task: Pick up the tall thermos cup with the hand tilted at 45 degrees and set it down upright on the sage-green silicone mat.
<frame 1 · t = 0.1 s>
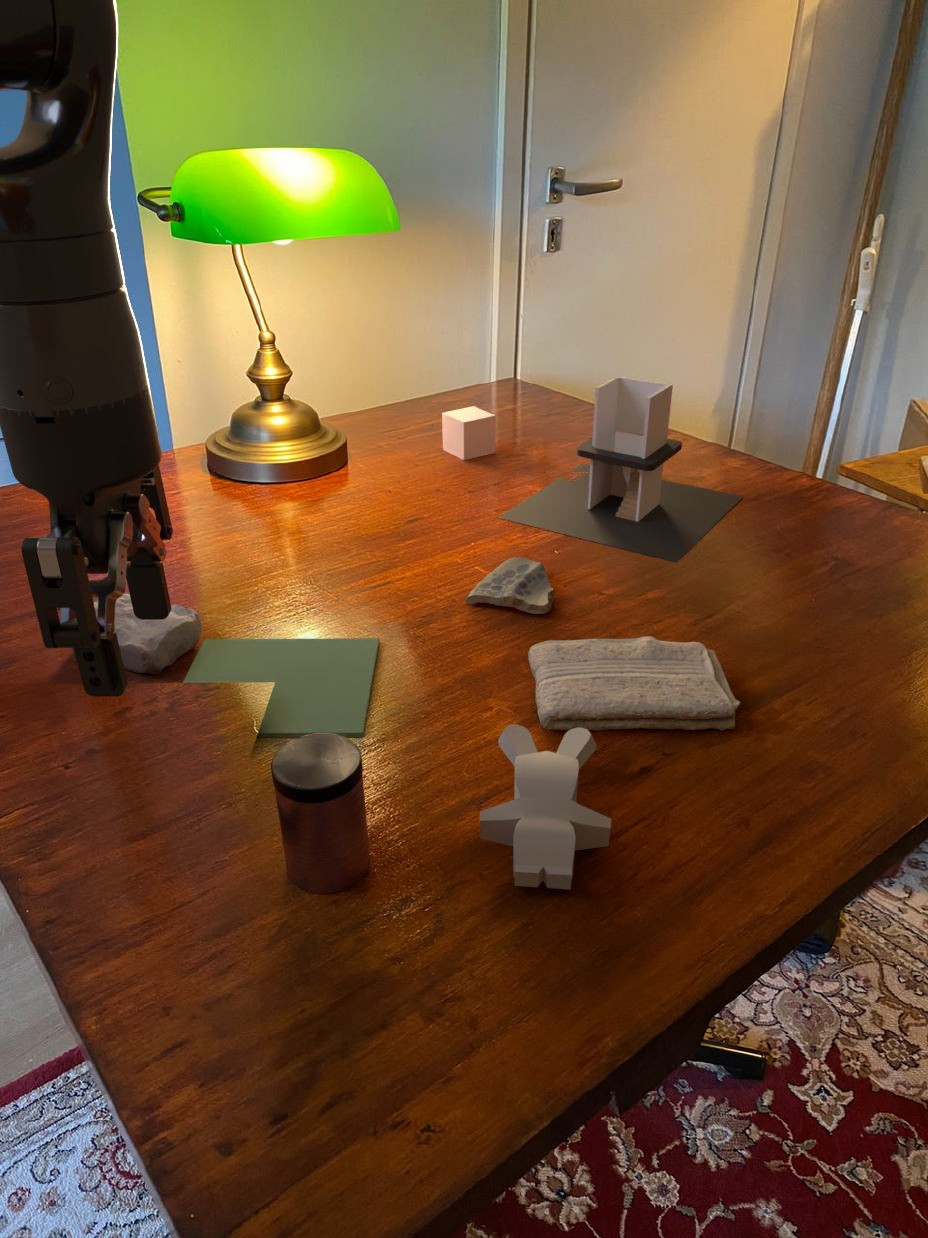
hand: (132, 652, 54), 20 cm above the table, tool pointing down, fingers open, 8 cm apart
ceramic fragment: (521, 596, 102), on the table
stone block: (143, 645, 93), on the table
washcloth: (628, 698, 84), on the table
thermos cup: (328, 863, 66), on the table
mat: (277, 686, 86), on the table
white cube: (468, 452, 143), on the table
bunny figurine: (544, 826, 70), on the table
box stand: (623, 508, 123), on the table
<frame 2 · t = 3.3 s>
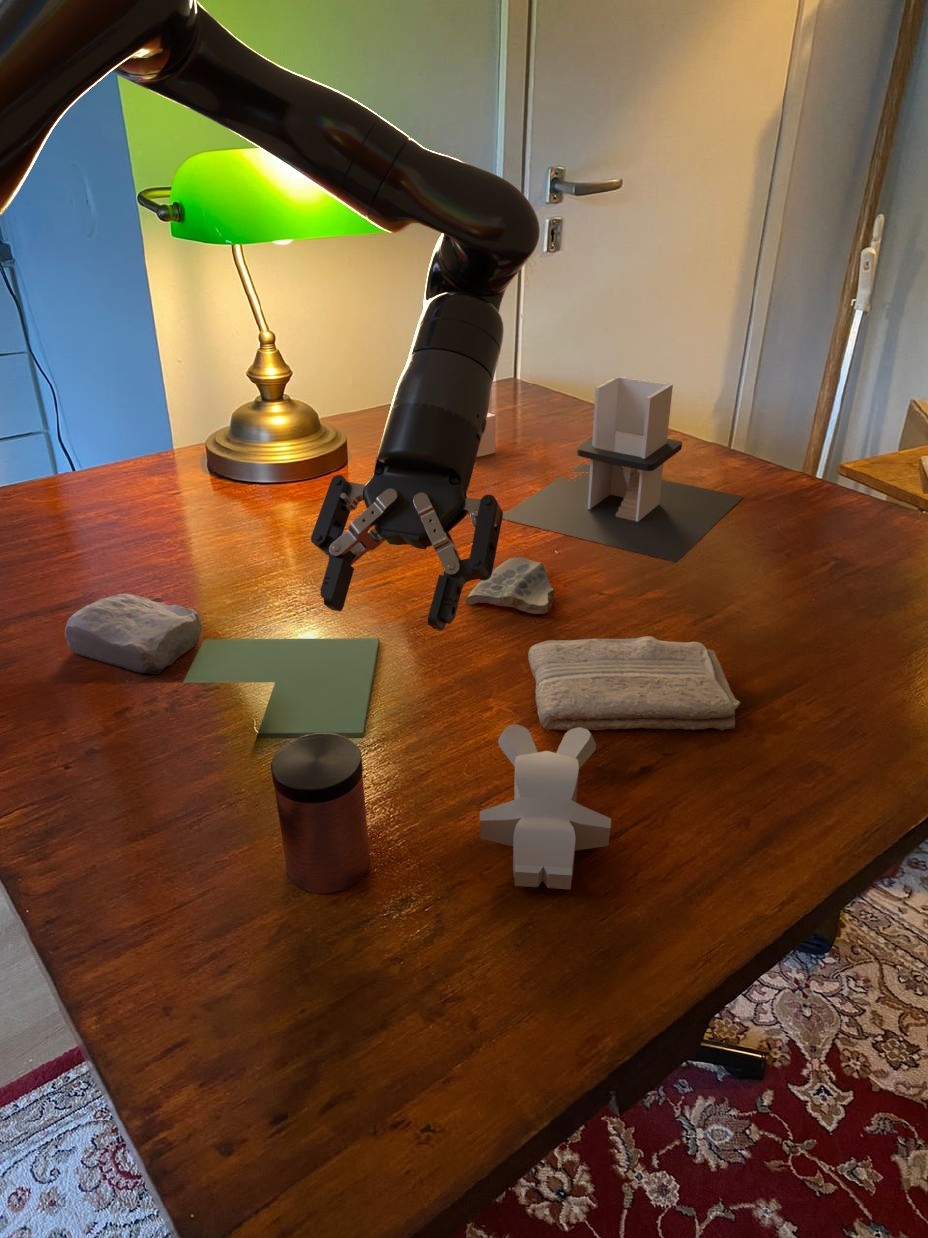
hand: (383, 617, 68), 15 cm above the table, tool tilted 45°, fingers open, 8 cm apart
nothing on the table moved.
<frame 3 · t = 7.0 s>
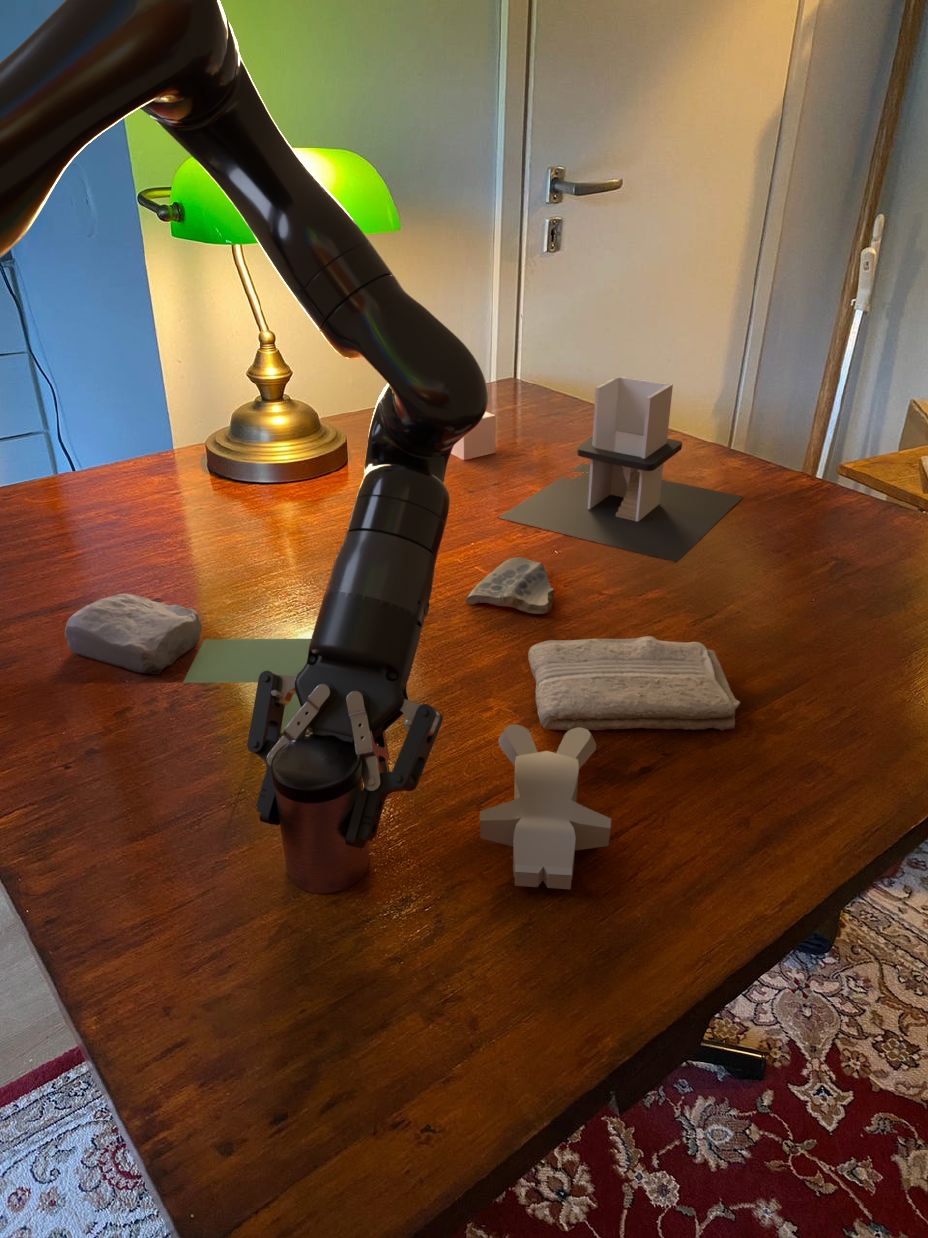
hand: (311, 834, 63), 4 cm above the table, tool tilted 45°, fingers closed on thermos cup, 6 cm apart
thermos cup: (328, 863, 66), on the table, touching gripper
everything else where it was.
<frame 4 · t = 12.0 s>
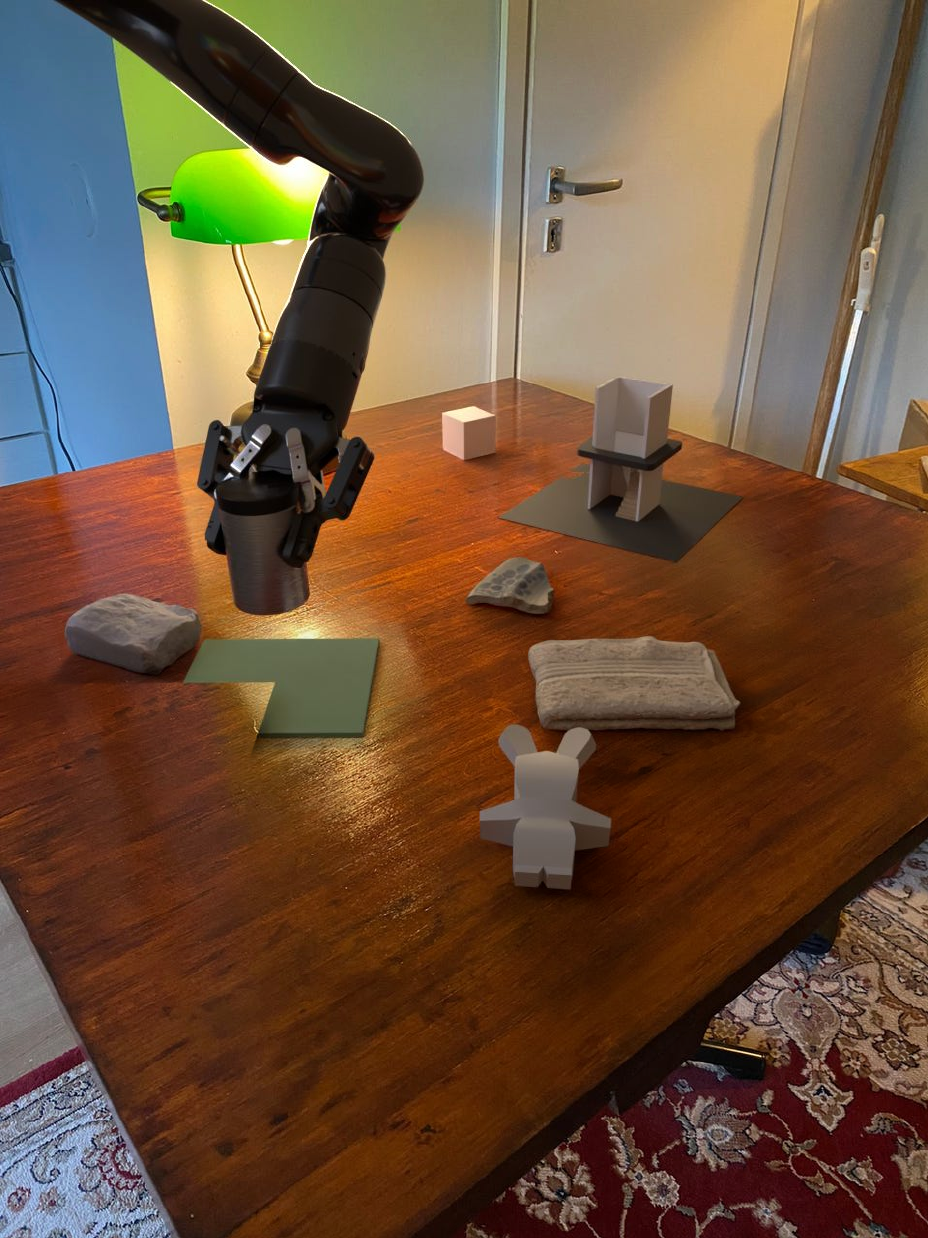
hand: (253, 557, 69), 18 cm above the table, tool tilted 45°, fingers closed on thermos cup, 6 cm apart
thermos cup: (272, 597, 72), point 14 cm above the table, touching gripper
everything else where it was.
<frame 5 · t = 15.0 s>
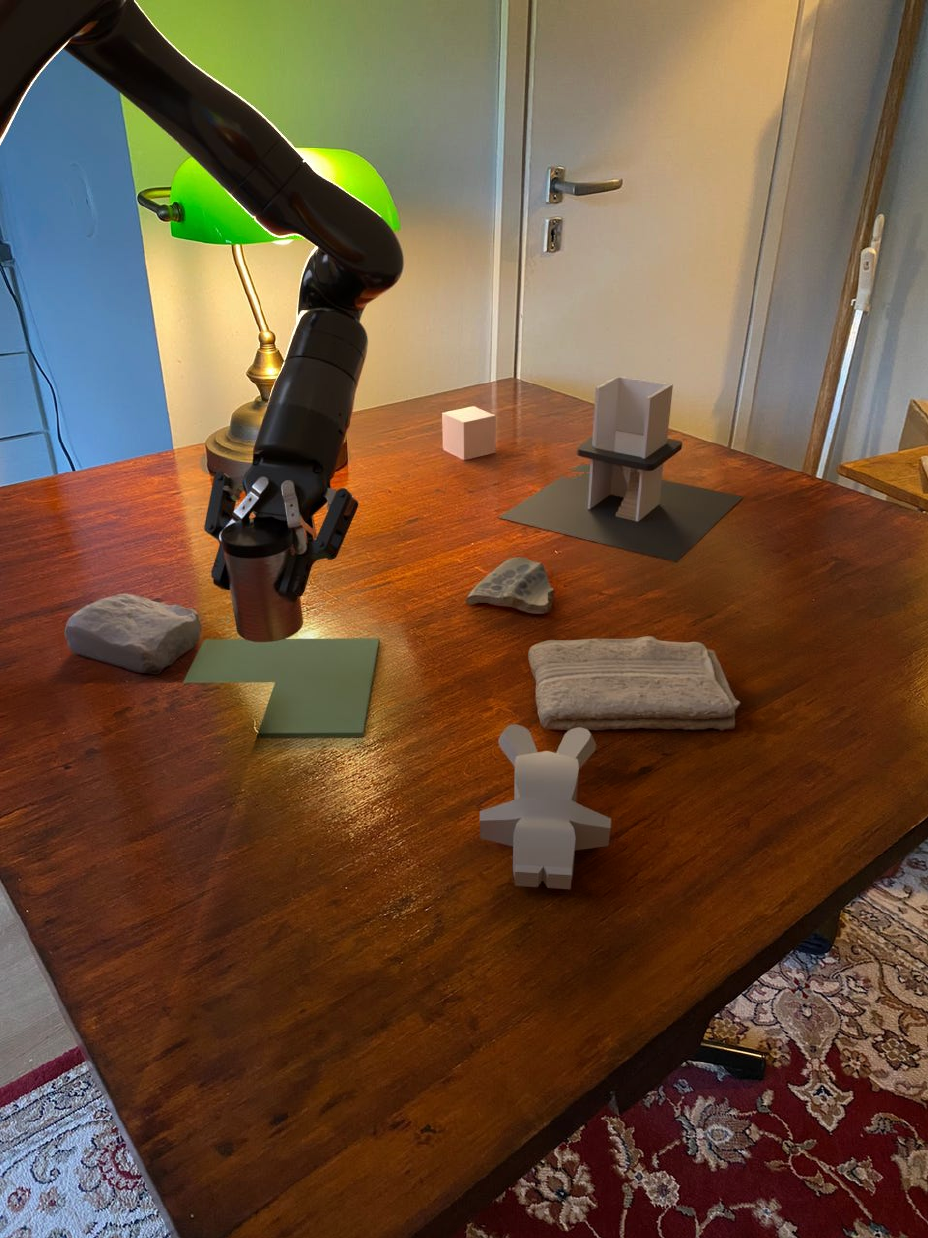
hand: (254, 592, 79), 11 cm above the table, tool tilted 45°, fingers closed on thermos cup, 6 cm apart
thermos cup: (270, 625, 83), point 7 cm above the table, touching gripper
everything else where it was.
when the fingers open (5 cm above the table, at t = 17.2 s): thermos cup stays where it is, resting on mat.
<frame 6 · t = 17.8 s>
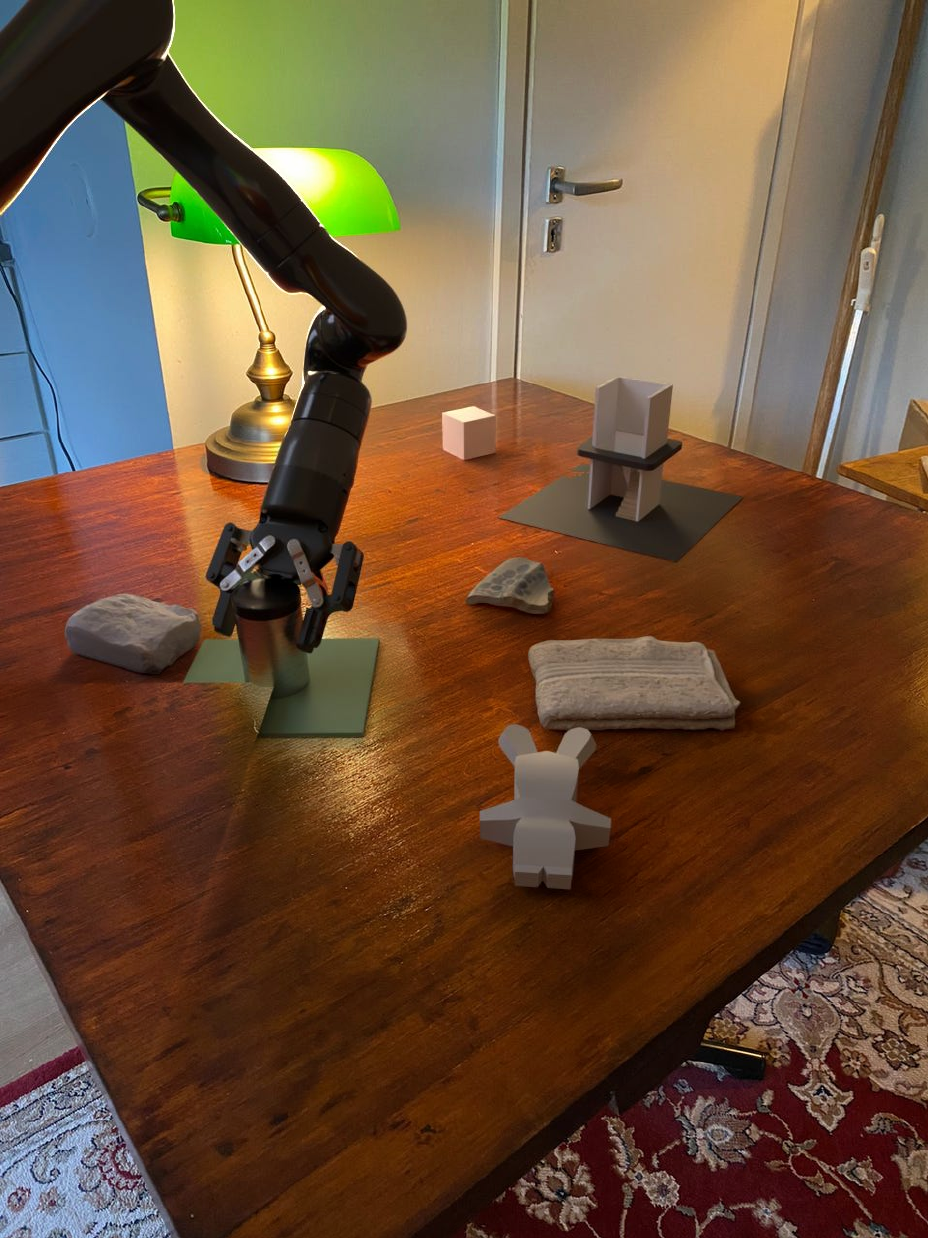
hand: (262, 642, 82), 6 cm above the table, tool tilted 45°, fingers open, 8 cm apart
thermos cup: (277, 681, 86), resting on mat
everything else where it was.
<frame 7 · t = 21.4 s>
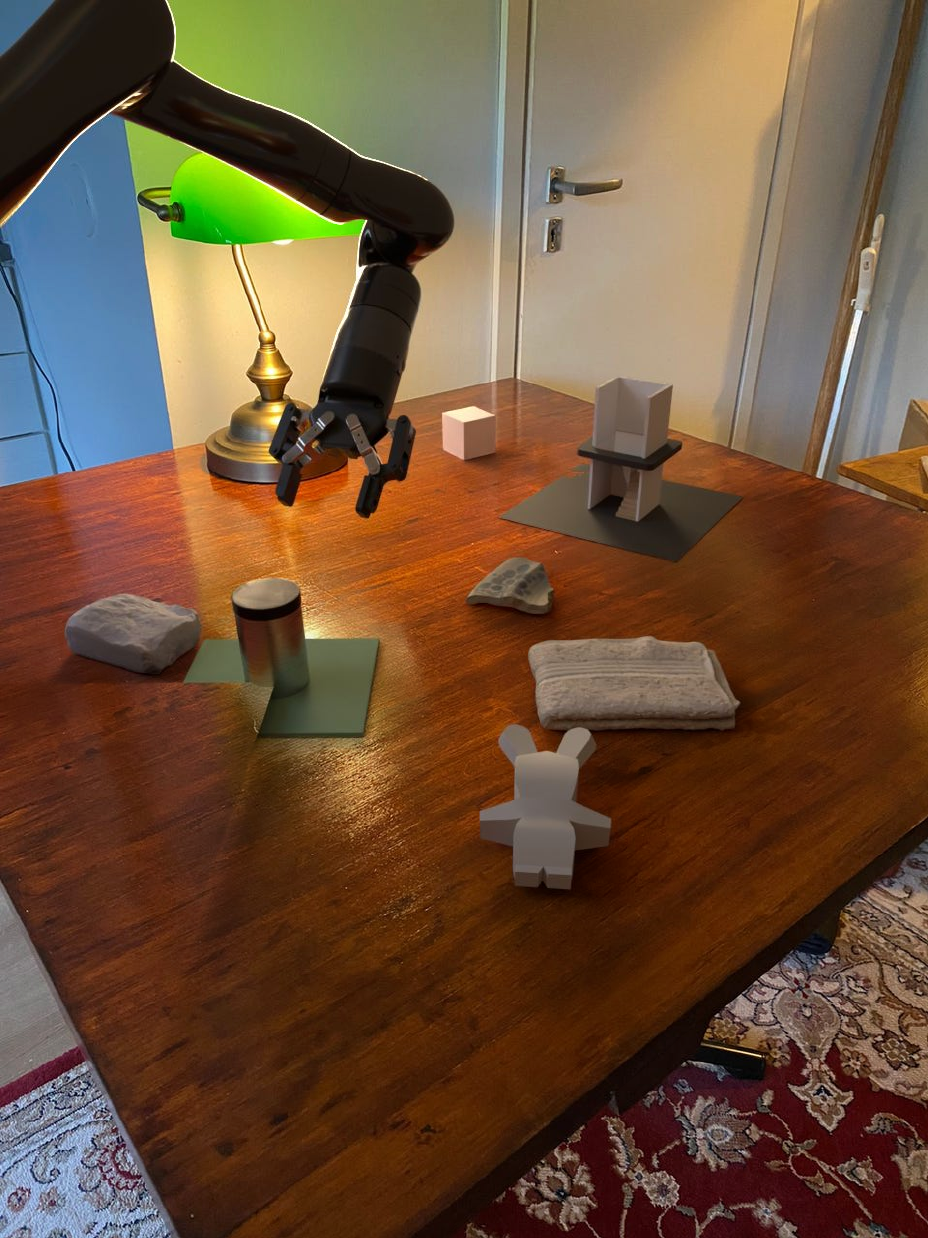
hand: (322, 509, 89), 14 cm above the table, tool tilted 45°, fingers open, 8 cm apart
nothing on the table moved.
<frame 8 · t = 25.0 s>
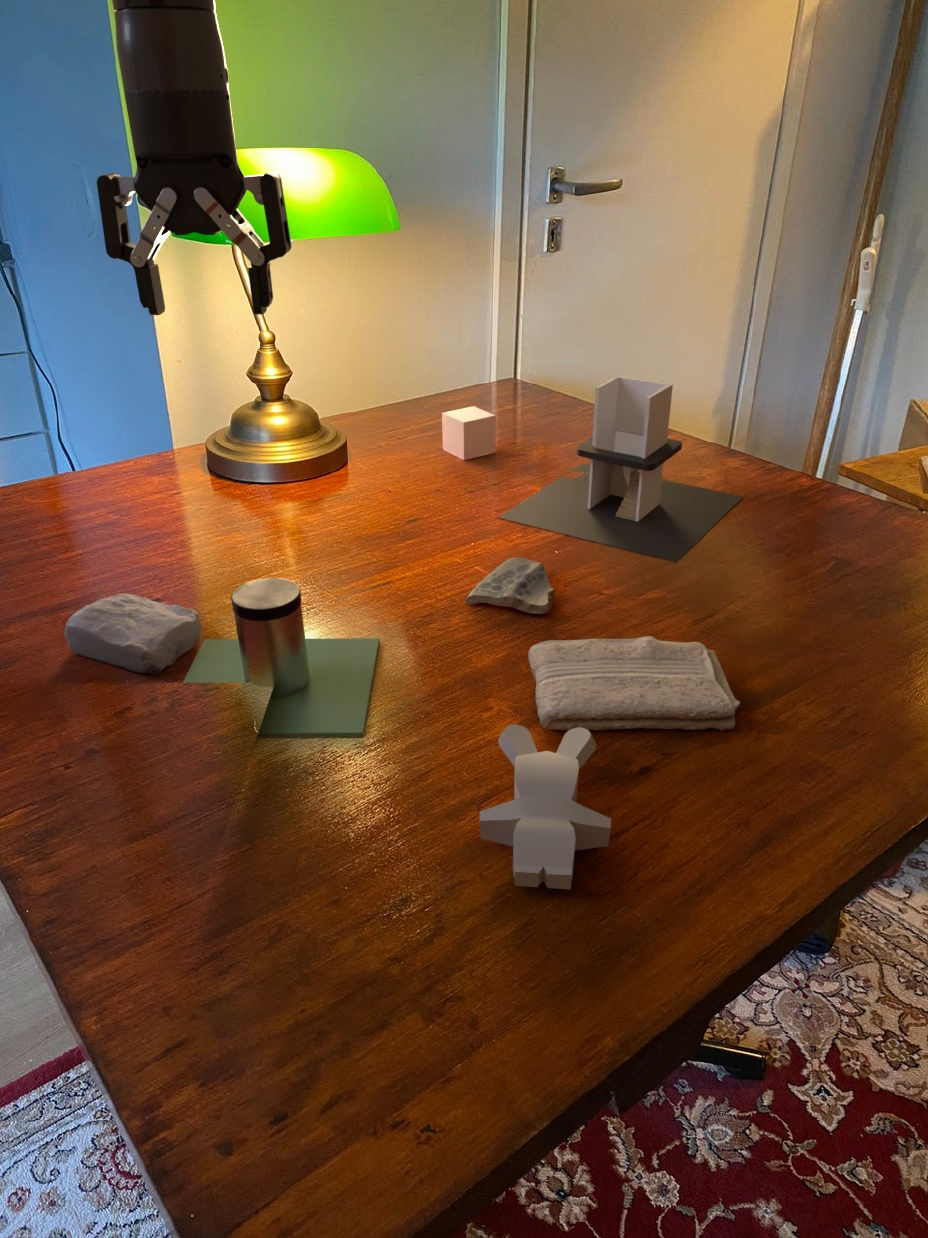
hand: (209, 313, 75), 33 cm above the table, tool pointing down, fingers open, 8 cm apart
nothing on the table moved.
at the end: thermos cup inside the target area on the mat (0.1 cm from its centre), point 0.5 cm above the mat's base; thermos cup tilted 0°; the gripper is holding nothing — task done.
